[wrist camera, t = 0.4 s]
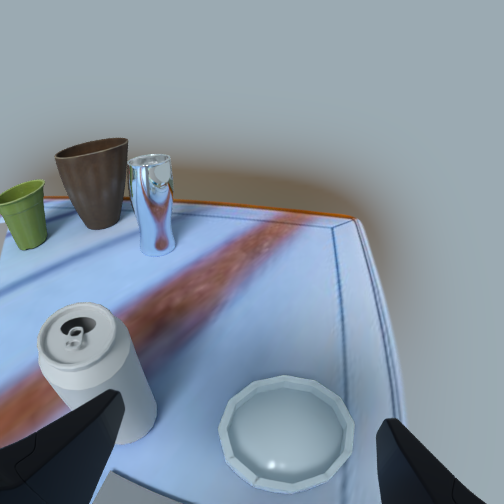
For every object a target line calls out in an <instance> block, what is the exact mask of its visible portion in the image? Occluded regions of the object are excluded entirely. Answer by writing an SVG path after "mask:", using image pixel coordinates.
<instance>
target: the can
mask: <svg viewBox="0 0 504 504" xmlns="http://www.w3.org/2000/svg"><path fill="white" fill-rule="evenodd" d="M37 348H38V351H39V365H40V368H41V371H42V373H43V375H44V376H45V378H46V379H47V380H48V382H49V383H50V384H51V386H52V387H53V388H54V390H55V391H56V392H57V393H58V395H59V396H60V397H61V398H62V400H63V401H64V402H65V403H66V405H67V406H68V407H69V408H70V409H71V410H72V411H73V410H74V409H76V408H78V407H79V406H81V405H83V404H84V403H86V402H88V401H89V400H91V399H93V398H94V397H96V396H98V395H99V394H101V393H103V392H104V391H106V390H108V389H114V390H117V391H120V392H121V394H122V398H123V401H124V404H125V413H124V416H123V419H122V423H121V426H120V429H119V432H118V435H117V439H116V442H115V444H119V445H124V444H128V443H132V442H136V441H137V440H139V439H141V438H142V437H144V436H145V435H146V434H147V433H148V432H149V431H150V429H151V428H152V427H153V425H154V422H155V420H156V417H157V404H156V401H155V399H154V396H153V394H152V391H151V389H150V387H149V384H148V382H147V379H146V377H145V374H144V372H143V369H142V367H141V364H140V362H139V359H138V357H137V354H136V351H135V349H134V346H133V343H132V340H131V337H130V335H129V332H128V329H127V327H126V326H125V325H124V324H123V322H122V321H121V320H120V319H118V318H117V317H115V316H113V314H112V313H111V312H110V310H108V309H107V308H105V307H104V306H102V305H100V304H95V303H91V302H81V303H75V304H71V305H67V306H65V307H63V308H61V309H59V310H57V311H56V312H55V313H53V314H52V315H51V316H50V317H48V319H47V320H46V321H45V323H44V324H43V325H42V327H41V329H40V331H39V334H38V337H37Z"/></svg>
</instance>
